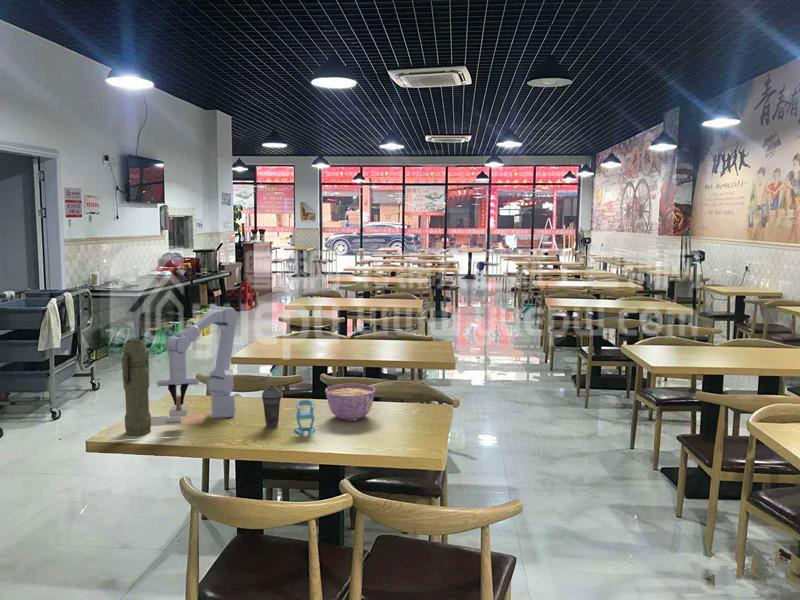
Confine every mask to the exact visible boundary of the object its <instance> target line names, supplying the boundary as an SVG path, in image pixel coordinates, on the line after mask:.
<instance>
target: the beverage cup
mask: <svg viewBox="0 0 800 600" xmlns="http://www.w3.org/2000/svg"><path fill="white" fill-rule="evenodd" d="M267 381H268V385H267V387H266V388H265V389H264V390H263V391H262V395H261V399H262V403H263V410H264V411H263V412H264V420H265V422H264V423H265V427H266V428H269V429H273V428H276V427H278V426H279V418H280V405H281V404H280V403H281V399H282V395H281V390H280V389H279V388H278V387H277V386H275V385H271V382H270V374H267Z"/></svg>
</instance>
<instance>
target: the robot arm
mask: <svg viewBox="0 0 800 600" xmlns="http://www.w3.org/2000/svg"><path fill="white" fill-rule="evenodd" d="M237 317H238V313H237V311H236V310H235V308H233V307H231V306H230V307H229V306H228V307H227V306H217V305H212V306H211V307H210V308H208V309H207V310H206V313H205V314H204V315H203V316H202V317H201V318H200V319H199V320H198V321H196V323H194V324H186V325H185V326H184V329H183V328H182V330H180V332H177V333H176V334H175V336H174V335H171V336H170V337H168V338H167V339H166V342H165V344H164V348H165V350H166V351H167V355H168V361H169V363H168V365H169V378H168V379H162V380H160V379H159V380H157V383H156V384H157V387H158V388H160V387H163V386H164V387H167V390H168V391H169V394H170V395H171V398H172V400H173V404H174V405H173V406H176V397H177V396H178V395H177V386H180V387H179V389H180V396H181V405H182V406H184V400H185V395H186V392H187V389H188V387H189V386H194V385H195V386H198V385H199V384H200V383H199V382H200V381H199V378H187V370H186V369H187V367H186V352H187V351H188V349H189V348H190V345H191V343H193V342H194V341H195V340H197V339H198V338H199V337H200V334H201V332H202V331H204V330H205V329H206V328H208V327H209V326H210V325H212V324H214V325H216V326H217V327H218V328H219V329H220V330H221V331H220V336H219V344H218V349H217V355H216V360H215V366H214V367H215V368H214V369H213V370H212V371H211V372H209V376H208V379H207V380H206V382H205V383H206V386H205V387H206V389H207V391H208V392H209V394H210V403H211V405H210V407H211V408H210V409H211V411H210V415H209V418H224V417H225V418H234V417H235V416H236V415H235V414H236V410H237V409H236V402H235V401H236V396H235V393H234V392H233V390H234V385H235V384H234V375H233V374H232V372H230V367H231V366H230V365H231V359H232V353H233V347H234V341H235V334H236V328H237V327H236V326H237V324H236V323H237Z"/></svg>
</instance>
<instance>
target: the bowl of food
mask: <svg viewBox="0 0 800 600" xmlns="http://www.w3.org/2000/svg"><path fill="white" fill-rule="evenodd" d="M324 391H325V394H326V395H325V396H326V399H327V403H328V407H329V410H330V412H331V413H332V415H334V416H335V417H337V418H339V419H341V420H342V419H344V420H343V421H347V420H353V421H355V420H354V419H358V418H360V419H361V418H363V417H365V416H367V415H368V414H369V413H370V411H371V409H372V405H373V402H374V398H375V394H376V393H375V392H376V388H375V387H374V386H371V385H368V384H363V383H362V384H361V383H340V384H333V385H331V386H328V387H326V388H325V390H324ZM358 420H359V419H358Z"/></svg>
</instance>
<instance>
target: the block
mask: <svg viewBox="0 0 800 600" xmlns="http://www.w3.org/2000/svg"><path fill="white" fill-rule="evenodd" d="M167 416H168V417H167V422H181V420H182V416H179V417H169V414H167Z"/></svg>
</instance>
